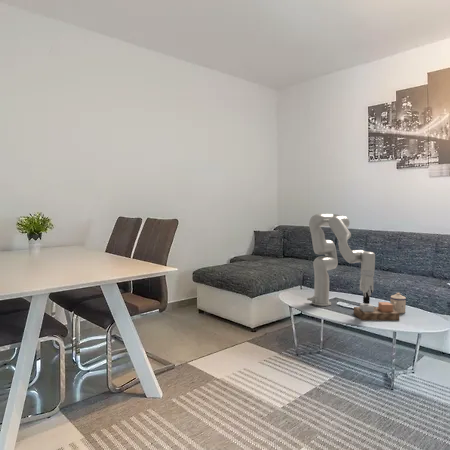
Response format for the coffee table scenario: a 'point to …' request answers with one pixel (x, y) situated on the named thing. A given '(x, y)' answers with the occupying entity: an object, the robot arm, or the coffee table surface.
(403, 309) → the teacup with lid
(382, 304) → the salmon orange block
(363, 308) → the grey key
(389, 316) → the brown slotted base
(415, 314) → the coffee table surface
